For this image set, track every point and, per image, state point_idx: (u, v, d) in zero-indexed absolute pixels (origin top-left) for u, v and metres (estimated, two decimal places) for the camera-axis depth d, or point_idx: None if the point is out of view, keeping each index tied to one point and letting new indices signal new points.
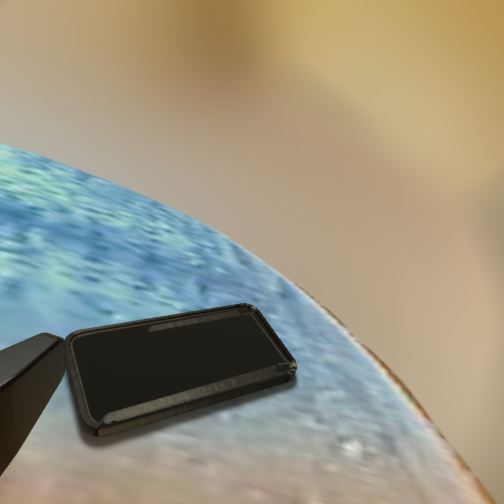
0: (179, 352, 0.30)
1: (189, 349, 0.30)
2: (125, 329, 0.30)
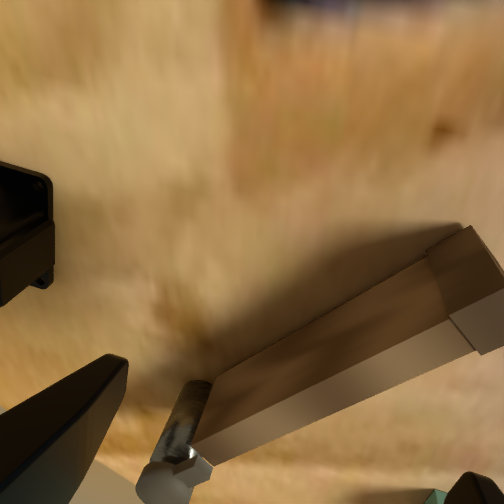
0: None
1: None
2: None
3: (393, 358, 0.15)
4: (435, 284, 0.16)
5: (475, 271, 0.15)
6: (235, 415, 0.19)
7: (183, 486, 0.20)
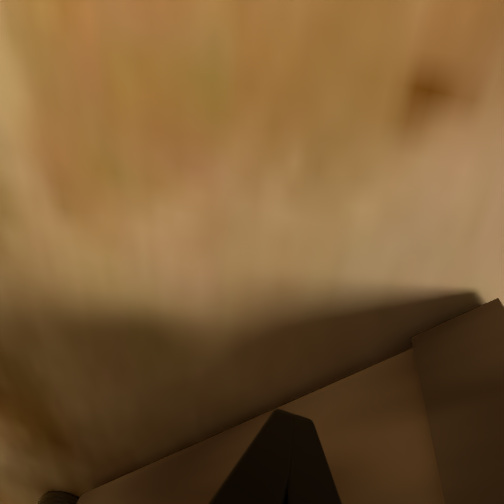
0: None
1: None
2: None
3: None
4: (426, 428, 0.08)
5: None
6: None
7: None
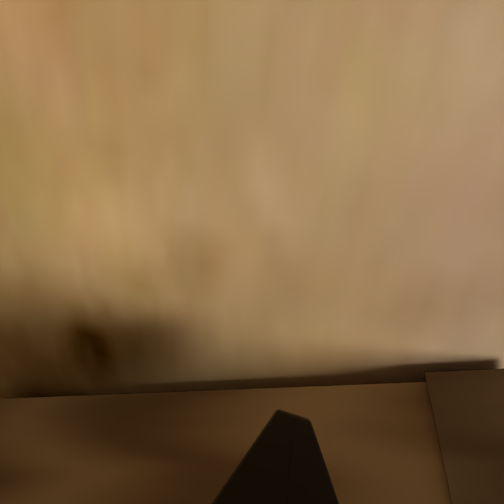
0: None
1: None
2: None
3: None
4: (436, 466, 0.08)
5: None
6: None
7: None
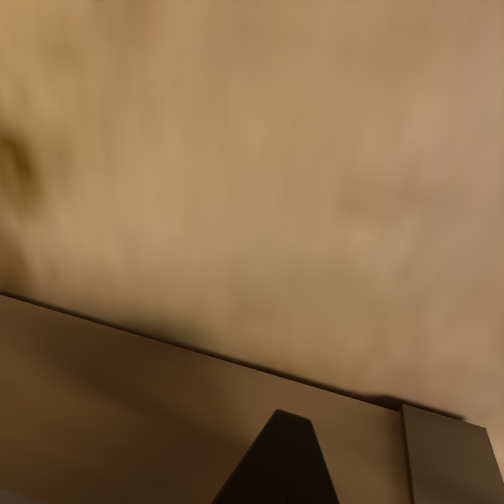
0: None
1: None
2: None
3: None
4: (403, 497, 0.09)
5: None
6: None
7: None
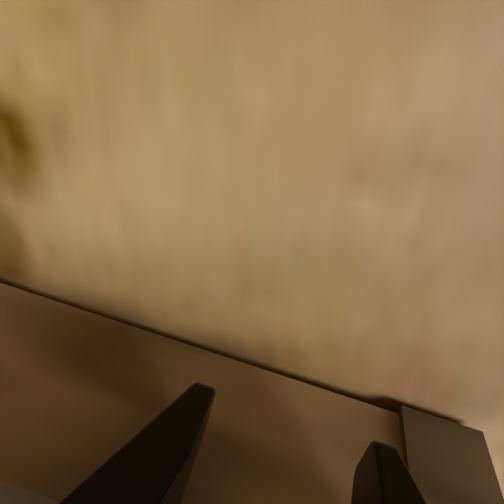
0: None
1: None
2: None
3: None
4: None
5: None
6: None
7: None
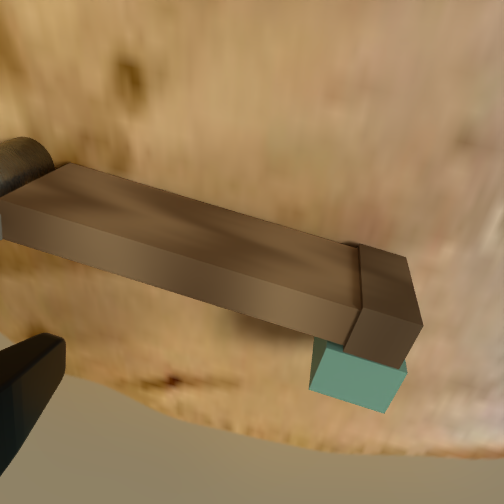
0: None
1: None
2: None
3: (284, 299, 0.15)
4: (356, 275, 0.16)
5: (398, 293, 0.15)
6: (79, 215, 0.15)
7: None
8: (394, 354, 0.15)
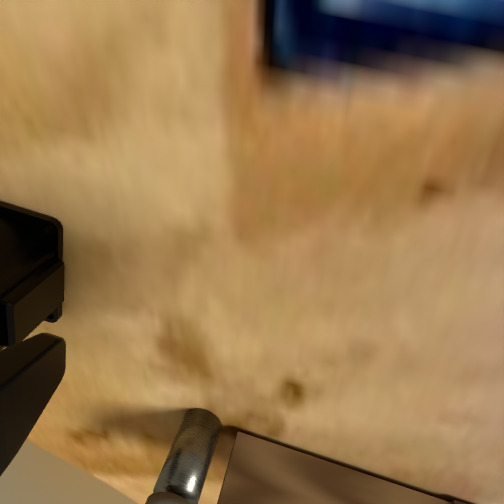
0: None
1: None
2: None
3: None
4: None
5: None
6: None
7: None
8: None
